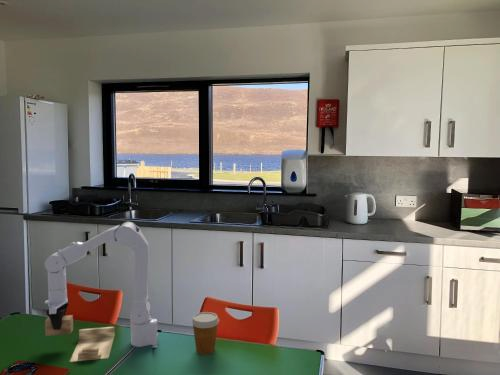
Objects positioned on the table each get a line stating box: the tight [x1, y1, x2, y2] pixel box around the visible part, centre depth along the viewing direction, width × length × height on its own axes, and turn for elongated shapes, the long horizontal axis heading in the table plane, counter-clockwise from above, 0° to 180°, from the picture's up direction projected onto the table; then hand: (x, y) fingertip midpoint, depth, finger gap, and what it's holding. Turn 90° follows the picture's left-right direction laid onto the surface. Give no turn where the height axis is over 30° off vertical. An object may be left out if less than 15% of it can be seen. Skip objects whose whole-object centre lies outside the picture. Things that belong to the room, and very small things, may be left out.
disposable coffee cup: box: [191, 311, 220, 355], centre depth 138 cm, size 10×10×12 cm
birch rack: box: [69, 326, 115, 363], centre depth 138 cm, size 12×16×4 cm
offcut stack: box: [78, 346, 101, 361], centre depth 131 cm, size 7×2×3 cm, turn 102°
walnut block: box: [44, 314, 74, 337], centre depth 138 cm, size 8×4×5 cm, turn 102°
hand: (58, 326), depth 138 cm, fingers closed on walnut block, 4 cm apart
